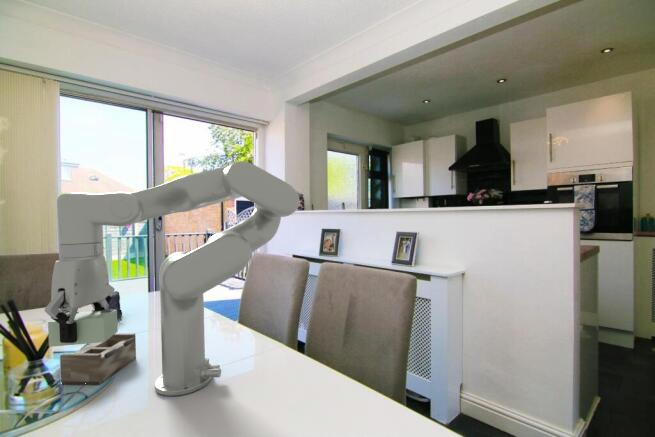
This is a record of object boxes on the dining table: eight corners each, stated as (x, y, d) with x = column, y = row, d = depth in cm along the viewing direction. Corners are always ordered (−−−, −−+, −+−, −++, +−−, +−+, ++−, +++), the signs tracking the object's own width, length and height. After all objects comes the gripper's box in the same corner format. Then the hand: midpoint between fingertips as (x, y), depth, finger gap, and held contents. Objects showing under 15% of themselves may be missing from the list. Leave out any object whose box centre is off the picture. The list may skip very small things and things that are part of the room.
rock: (121, 320, 125) (120, 293, 125) (104, 323, 122) (103, 296, 122) (122, 313, 134) (121, 289, 134) (106, 316, 131) (105, 290, 131)
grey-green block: (117, 331, 72) (116, 308, 72) (104, 342, 66) (103, 317, 66) (67, 335, 70) (66, 312, 70) (48, 346, 64) (47, 321, 64)
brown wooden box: (103, 358, 92) (102, 333, 92) (139, 358, 91) (139, 333, 91) (60, 384, 78) (60, 355, 78) (103, 384, 77) (102, 355, 77)
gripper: (98, 247, 77) (100, 320, 77) (23, 257, 60) (27, 352, 60) (127, 246, 76) (130, 321, 77) (60, 257, 59) (64, 353, 59)
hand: (84, 334), depth 68 cm, fingers closed on grey-green block, 7 cm apart
